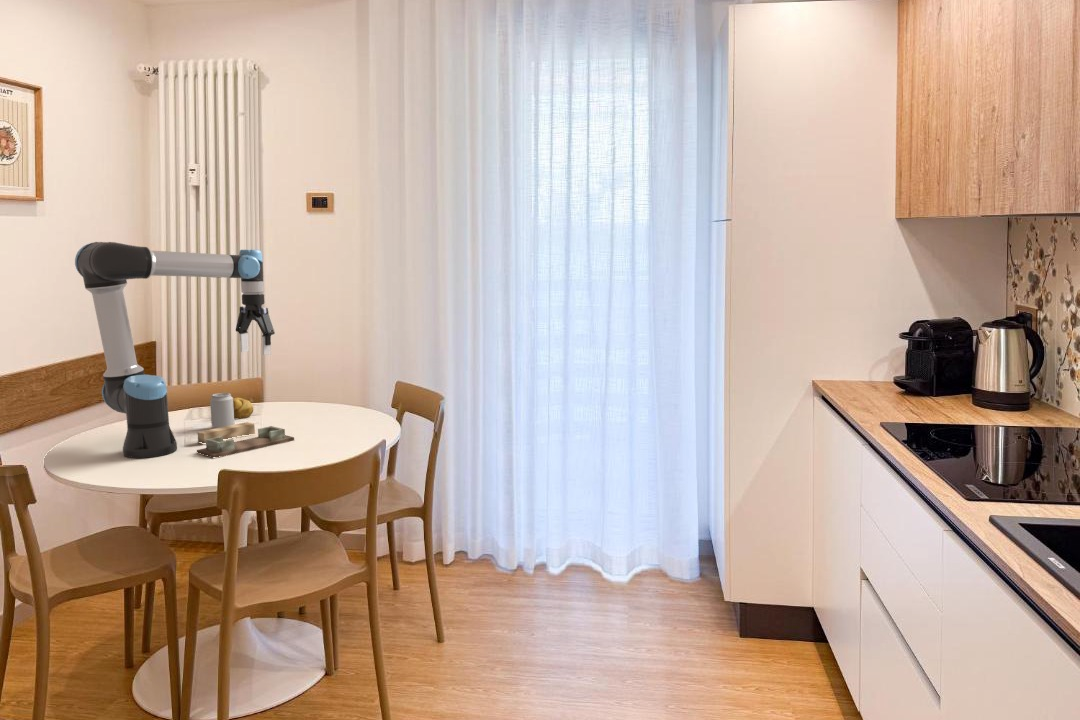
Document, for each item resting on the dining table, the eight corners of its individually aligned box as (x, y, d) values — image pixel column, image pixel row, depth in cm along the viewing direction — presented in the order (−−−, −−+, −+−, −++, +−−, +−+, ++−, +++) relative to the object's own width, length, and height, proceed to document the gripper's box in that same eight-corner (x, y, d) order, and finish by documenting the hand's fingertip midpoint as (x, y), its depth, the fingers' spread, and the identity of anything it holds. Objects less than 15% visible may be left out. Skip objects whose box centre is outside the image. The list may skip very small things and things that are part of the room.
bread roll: (222, 414, 306) (221, 393, 305) (249, 411, 311) (248, 391, 309) (228, 421, 295) (226, 399, 294) (255, 418, 299) (254, 396, 298)
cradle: (214, 458, 243) (213, 445, 242) (196, 453, 249) (195, 440, 249) (294, 440, 265) (293, 428, 264) (276, 435, 271) (275, 424, 270)
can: (238, 425, 287) (236, 392, 285) (228, 430, 280) (226, 396, 278) (218, 425, 288) (216, 391, 286) (207, 430, 280) (205, 395, 279)
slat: (204, 445, 260) (203, 433, 259) (198, 444, 262) (197, 431, 261) (255, 435, 273) (254, 423, 273) (248, 433, 276) (247, 422, 275)
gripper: (283, 294, 281) (285, 354, 284) (242, 291, 296) (245, 349, 299) (264, 295, 275) (267, 357, 278) (223, 292, 291) (226, 351, 293)
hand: (255, 353), depth 289 cm, fingers open, 13 cm apart
